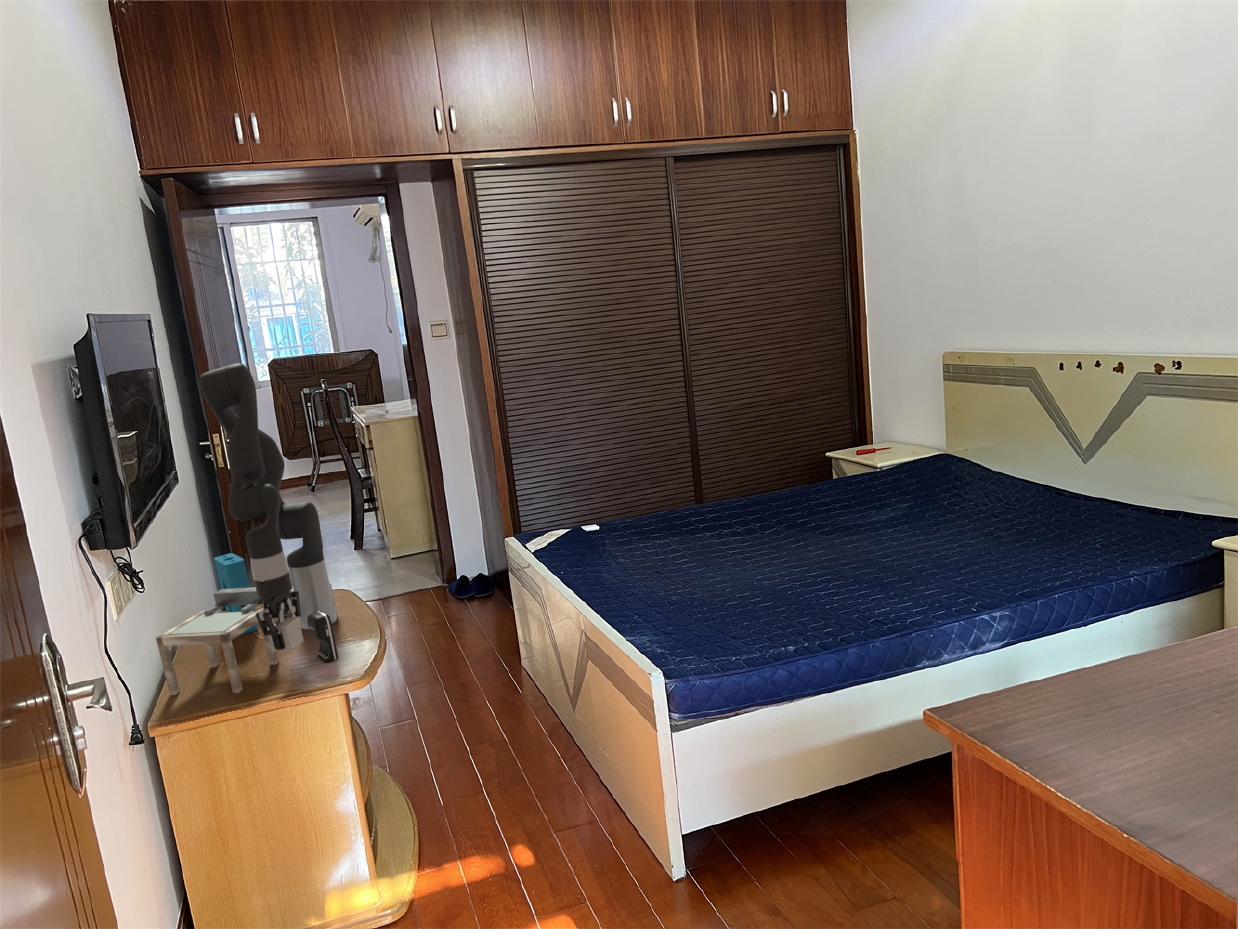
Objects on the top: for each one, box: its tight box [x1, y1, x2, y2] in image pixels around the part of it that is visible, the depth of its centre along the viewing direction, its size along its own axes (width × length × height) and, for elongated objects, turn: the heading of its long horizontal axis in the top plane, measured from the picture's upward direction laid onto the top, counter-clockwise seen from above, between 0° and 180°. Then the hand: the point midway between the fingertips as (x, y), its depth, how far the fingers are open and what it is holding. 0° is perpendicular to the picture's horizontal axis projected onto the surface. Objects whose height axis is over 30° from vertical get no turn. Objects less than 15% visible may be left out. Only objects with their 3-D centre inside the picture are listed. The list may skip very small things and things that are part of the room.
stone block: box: [267, 617, 304, 652], centre depth 205 cm, size 5×5×6 cm
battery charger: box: [307, 611, 339, 663], centre depth 215 cm, size 7×4×11 cm, turn 40°
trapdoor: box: [169, 586, 263, 635], centre depth 213 cm, size 20×14×4 cm
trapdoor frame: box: [155, 607, 280, 696], centre depth 211 cm, size 16×18×14 cm
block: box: [213, 552, 259, 636], centre depth 244 cm, size 12×5×20 cm, turn 39°
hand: (287, 643), depth 205 cm, fingers closed on stone block, 5 cm apart
